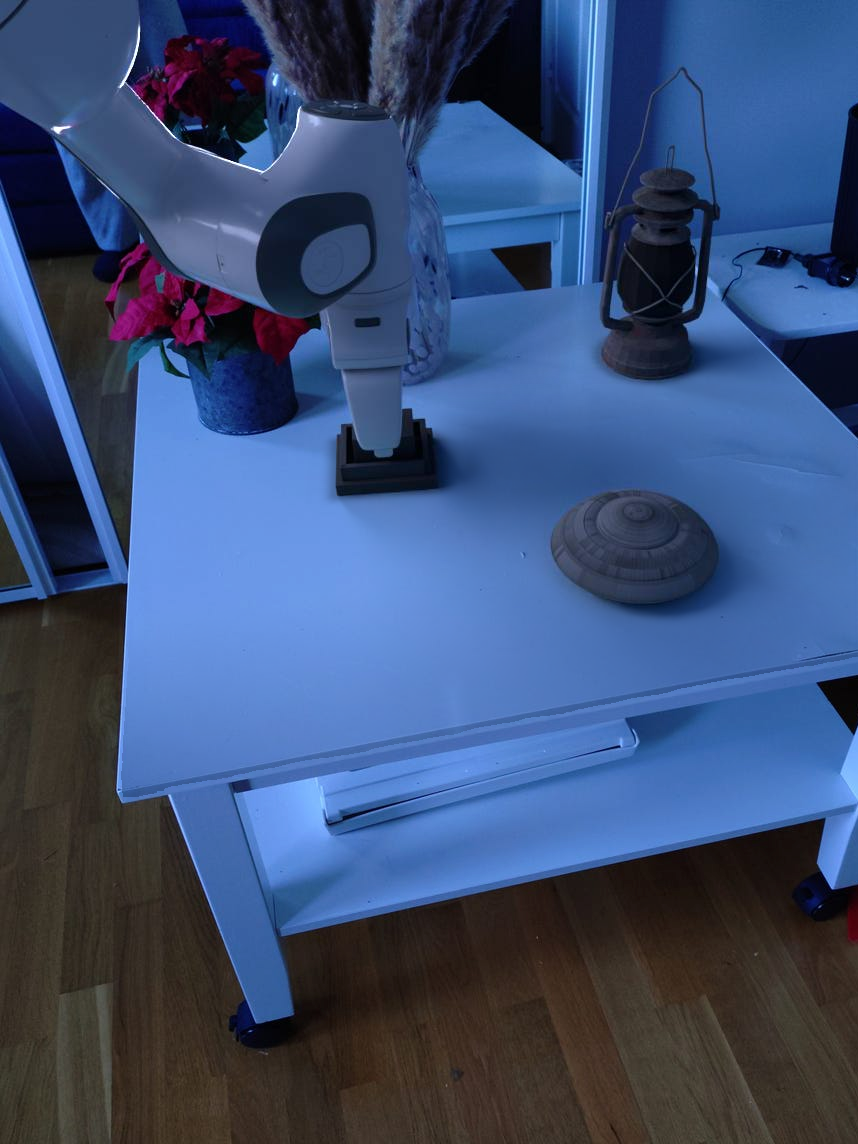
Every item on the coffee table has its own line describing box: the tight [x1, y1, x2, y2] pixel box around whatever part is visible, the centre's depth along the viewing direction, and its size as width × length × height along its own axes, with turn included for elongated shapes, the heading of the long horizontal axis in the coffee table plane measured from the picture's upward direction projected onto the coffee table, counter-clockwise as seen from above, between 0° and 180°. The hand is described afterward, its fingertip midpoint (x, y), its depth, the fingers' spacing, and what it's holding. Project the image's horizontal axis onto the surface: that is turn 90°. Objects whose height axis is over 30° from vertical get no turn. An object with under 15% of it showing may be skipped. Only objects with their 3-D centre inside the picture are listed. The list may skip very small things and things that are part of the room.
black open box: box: [335, 418, 439, 496], centre depth 94 cm, size 10×9×3 cm
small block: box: [351, 407, 416, 464], centre depth 93 cm, size 6×5×3 cm
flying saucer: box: [550, 488, 720, 605], centre depth 83 cm, size 15×15×6 cm
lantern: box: [599, 66, 721, 380], centre depth 98 cm, size 12×11×30 cm
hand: (383, 434), depth 93 cm, fingers closed on small block, 5 cm apart
